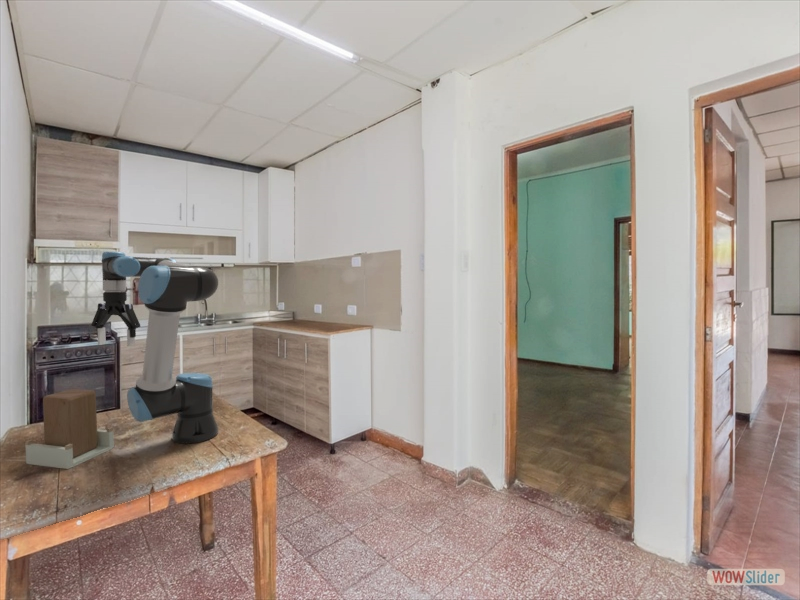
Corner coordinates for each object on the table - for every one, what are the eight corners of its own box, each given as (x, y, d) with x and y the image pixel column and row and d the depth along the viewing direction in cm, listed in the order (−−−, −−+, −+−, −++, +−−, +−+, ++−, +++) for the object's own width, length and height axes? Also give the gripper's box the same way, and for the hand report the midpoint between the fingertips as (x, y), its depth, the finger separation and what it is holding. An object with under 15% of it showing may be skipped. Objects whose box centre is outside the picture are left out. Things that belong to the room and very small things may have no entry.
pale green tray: (113, 447, 137) (113, 427, 136) (68, 469, 121) (67, 446, 121) (75, 443, 140) (74, 423, 139) (26, 463, 124) (25, 441, 124)
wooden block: (69, 460, 124) (67, 398, 123) (43, 457, 126) (41, 396, 125) (99, 447, 134) (97, 389, 133) (74, 444, 136) (72, 387, 135)
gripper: (150, 291, 157) (151, 344, 158) (97, 290, 162) (98, 342, 163) (134, 292, 150) (135, 348, 151) (79, 291, 154) (80, 345, 156)
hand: (116, 345), depth 157 cm, fingers open, 13 cm apart
